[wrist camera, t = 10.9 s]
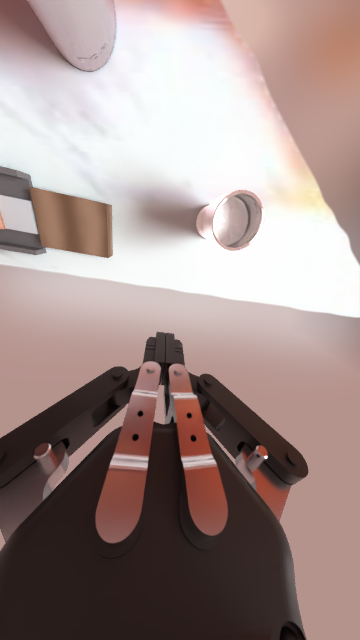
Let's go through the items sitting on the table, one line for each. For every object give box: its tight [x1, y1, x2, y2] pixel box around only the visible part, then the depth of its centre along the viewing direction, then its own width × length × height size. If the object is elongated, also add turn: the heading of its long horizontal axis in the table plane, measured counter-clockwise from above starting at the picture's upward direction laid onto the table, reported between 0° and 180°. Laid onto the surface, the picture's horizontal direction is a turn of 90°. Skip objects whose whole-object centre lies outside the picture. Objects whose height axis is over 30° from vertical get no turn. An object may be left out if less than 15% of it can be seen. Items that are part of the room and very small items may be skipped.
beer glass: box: [196, 190, 264, 250], centre depth 27 cm, size 7×7×15 cm
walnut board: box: [29, 187, 113, 258], centre depth 31 cm, size 12×9×3 cm
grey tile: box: [0, 195, 39, 234], centre depth 29 cm, size 5×5×2 cm
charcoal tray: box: [0, 167, 46, 255], centre depth 29 cm, size 10×13×3 cm
